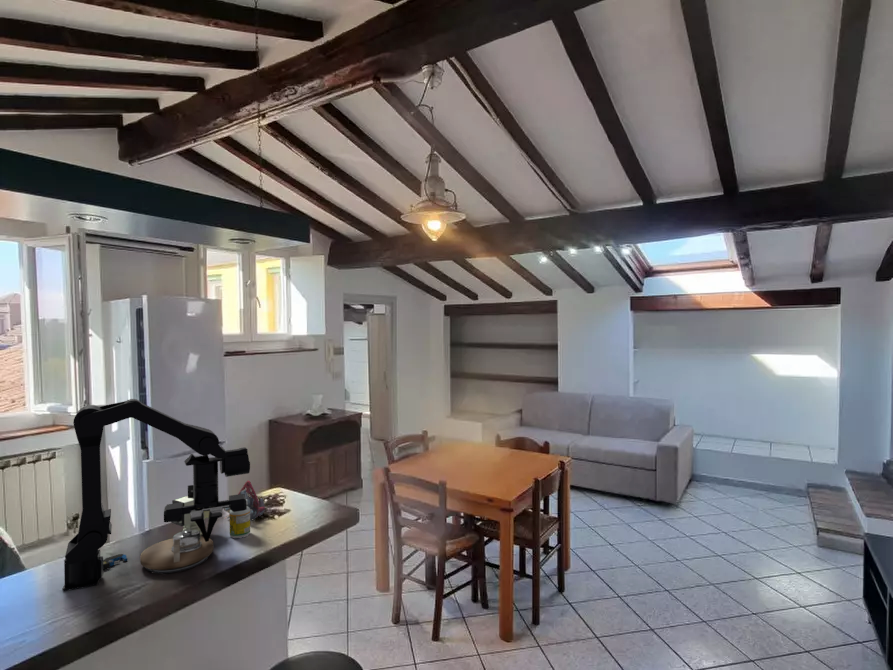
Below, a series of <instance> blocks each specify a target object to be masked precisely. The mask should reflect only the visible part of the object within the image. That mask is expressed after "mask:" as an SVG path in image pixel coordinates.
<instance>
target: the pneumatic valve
mask: <svg viewBox="0 0 893 670" xmlns="http://www.w3.org/2000/svg"><path fill="white" fill-rule="evenodd" d="M181 502H182V505H183V506H190V505H194V498H188V495H187V496H183V497H181V498H180V497H179V498H176V499H173V500H172V502H171V504H174V503H181ZM198 509H199V508H198ZM203 512H204V519H205V520H206V519H209V511H203ZM170 523H171V524H174V525H177V526H180V527H182V531H184V530H198V531H200V536H203V535H202V532H201V530H200V528H199V527H198V525H197V524H196V522H195V521H194V522H191V515H190V514H183V515H182V517H181V518H180V519H179V520H178V521H172V522H170ZM182 531H181V532H182Z"/></svg>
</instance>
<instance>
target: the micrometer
mask: <svg viewBox="0 0 893 670" xmlns="http://www.w3.org/2000/svg"><path fill="white" fill-rule="evenodd" d="M121 561H122V562H126V561H128V558H127V554H124V553H119V554H116V555H112V556H109V557H106V558H103V569H106V570H108V569H107V568H109V569H110V568H111V567H114V566H115V564H119V563H121ZM113 565H114V566H113ZM110 566H111V567H110Z"/></svg>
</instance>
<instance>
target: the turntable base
mask: <svg viewBox="0 0 893 670" xmlns="http://www.w3.org/2000/svg"><path fill="white" fill-rule="evenodd" d="M209 557H210V555H209V556H208V557H206V558H204V559H203V560H201V561H198V562H196V563H193V564H191V565H187V566H184V567H179V568H174V569H164V570H155V569H148V568H145V570H146V571H147V570H148V572H150V573H152V572H153V574H158V575H159V574H160V575H162V574H161V573H163V575H164V574H165V575H166V574H174V573H179V572H183V571H187V570H190V569H193V568H196V567H198V566H200V565H201V564H202V563H203V564H204V563H205V562H206V561H207V560H208V559H209Z"/></svg>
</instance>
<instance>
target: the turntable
mask: <svg viewBox="0 0 893 670" xmlns="http://www.w3.org/2000/svg"><path fill="white" fill-rule="evenodd" d="M200 541H201V542H202V546H201V547H200V548H199V549H197V550H195V551H192V552H188V553H180V539H177V540H174V552H172V549H171V548H172V547H173V537H172V538H169V539H165V540H162V541H160V542H159V541H158V542H156V543H154V544H151V545H149V546H148V547H147V548H145V549H144V550H143V551H142V552H141V554H140V562H139V563H140V565H141V566H142V567H143V568H145V569H146V568H148V569H155V570H164V569H174V568H179V567H184V566H187V565H191V564H193V563H196V562H198V561H201V560H203V559H204V558H206V557H208V556H209V557H210V555H211V554H212V553H213V552H214V541H213V540H212V539H211V538H209V541H207V542H205V539H204V537H203V535H201V536H200ZM209 557H208V558H209Z"/></svg>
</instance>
